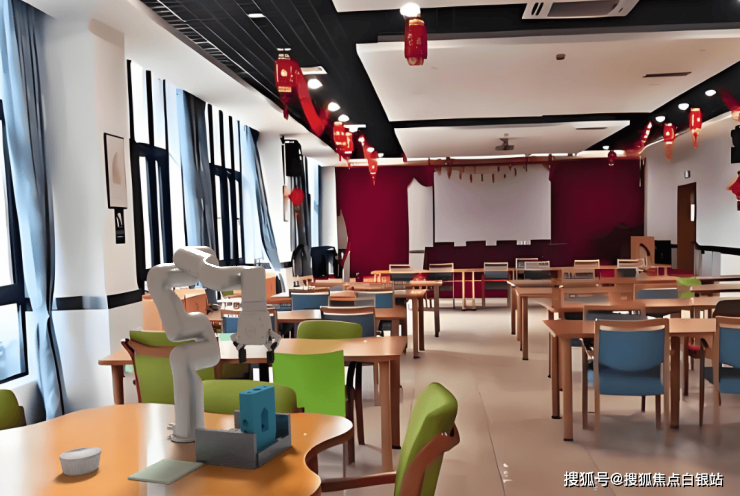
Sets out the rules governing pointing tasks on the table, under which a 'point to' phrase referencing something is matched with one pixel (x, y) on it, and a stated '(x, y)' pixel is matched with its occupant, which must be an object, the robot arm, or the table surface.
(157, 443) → the table surface
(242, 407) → the block
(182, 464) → the mat
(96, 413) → the table surface
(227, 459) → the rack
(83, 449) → the ramekin
